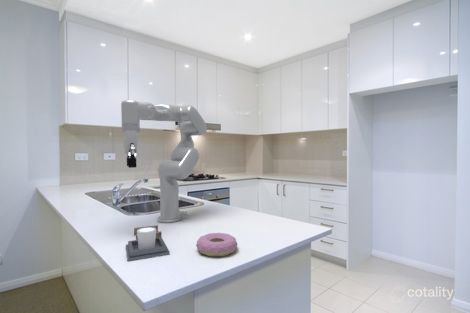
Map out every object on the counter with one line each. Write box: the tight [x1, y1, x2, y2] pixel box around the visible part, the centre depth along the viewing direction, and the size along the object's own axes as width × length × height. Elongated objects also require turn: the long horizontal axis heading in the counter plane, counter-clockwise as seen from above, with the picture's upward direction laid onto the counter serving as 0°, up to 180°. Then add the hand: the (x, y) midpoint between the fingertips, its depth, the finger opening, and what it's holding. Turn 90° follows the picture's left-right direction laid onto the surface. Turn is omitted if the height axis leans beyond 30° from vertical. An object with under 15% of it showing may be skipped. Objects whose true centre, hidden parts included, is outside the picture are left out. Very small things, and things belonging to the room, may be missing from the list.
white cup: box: [137, 226, 156, 250], centre depth 97 cm, size 7×7×7 cm
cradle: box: [125, 236, 171, 262], centre depth 97 cm, size 14×14×2 cm
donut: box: [195, 232, 238, 257], centre depth 98 cm, size 16×15×5 cm
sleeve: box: [133, 224, 162, 240], centre depth 113 cm, size 10×11×3 cm
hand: (131, 166), depth 118 cm, fingers open, 9 cm apart
